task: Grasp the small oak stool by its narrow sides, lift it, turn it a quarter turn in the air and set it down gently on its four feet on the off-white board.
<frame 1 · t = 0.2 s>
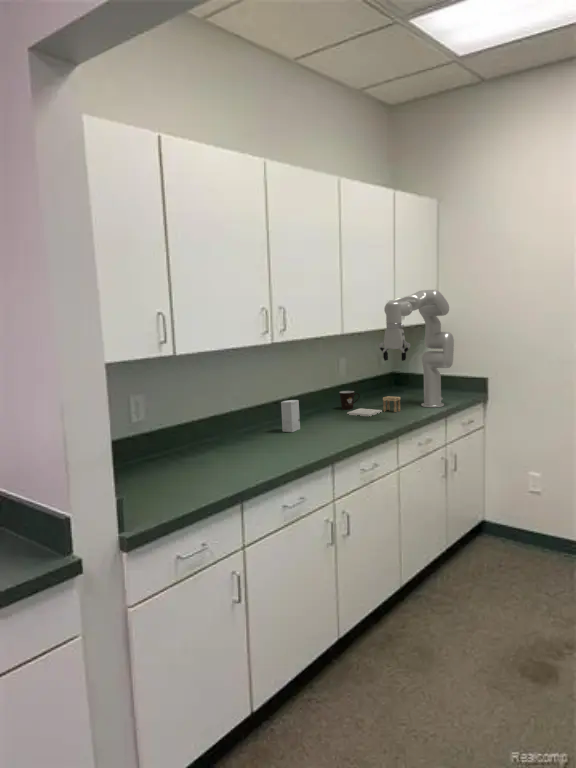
hand: (394, 360, 300), 31 cm above the worktop, tool pointing down, fingers open, 9 cm apart
coffee mug: (350, 409, 341), on the worktop
skincare box: (291, 430, 289), on the worktop
white board: (364, 413, 325), on the worktop
oak stool: (391, 411, 327), on the worktop
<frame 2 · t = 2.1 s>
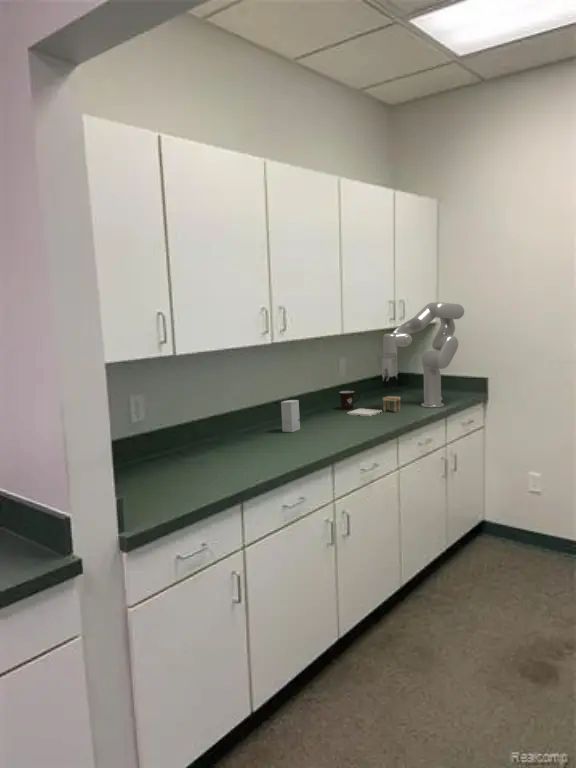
hand: (390, 387, 325), 14 cm above the worktop, tool pointing down, fingers open, 9 cm apart
nothing on the worktop moved.
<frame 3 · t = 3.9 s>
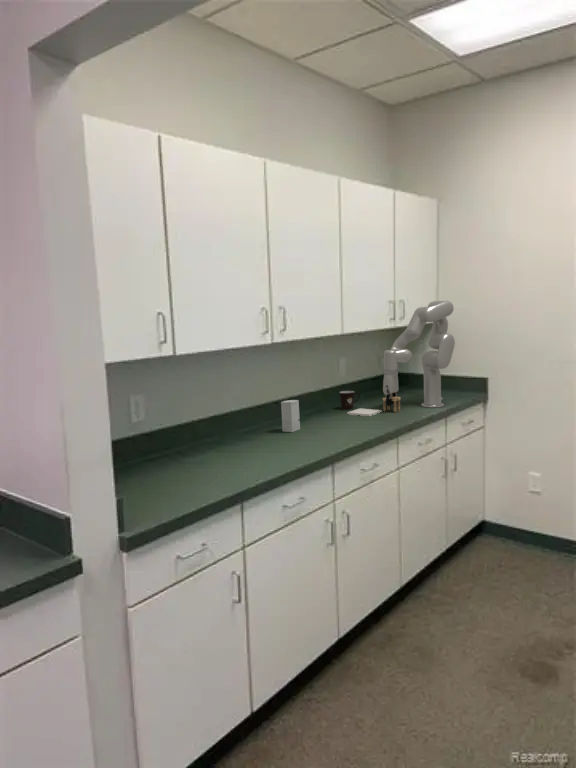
hand: (391, 404, 326), 4 cm above the worktop, tool pointing down, fingers closed on oak stool, 5 cm apart
oak stool: (391, 411, 327), on the worktop, touching gripper
everything else where it was.
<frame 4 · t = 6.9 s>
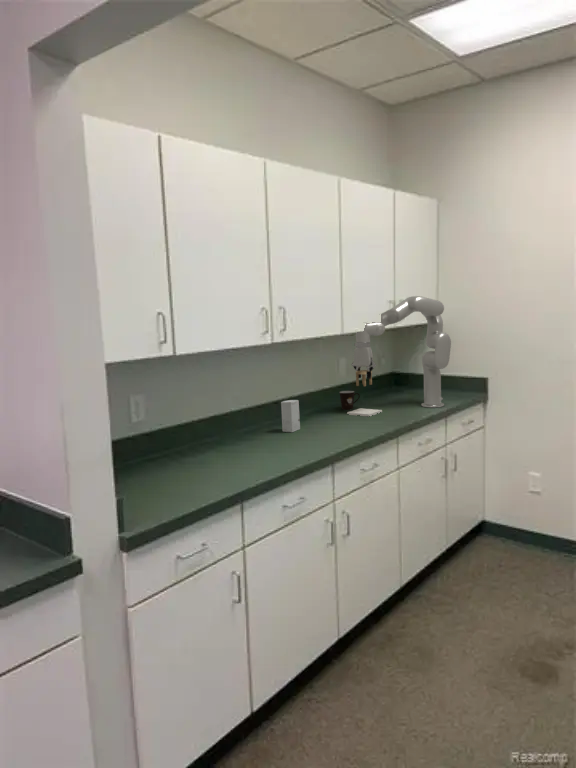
hand: (363, 378, 322), 20 cm above the worktop, tool pointing down, fingers closed on oak stool, 5 cm apart
oak stool: (364, 385, 323), point 16 cm above the worktop, touching gripper
everything else where it was.
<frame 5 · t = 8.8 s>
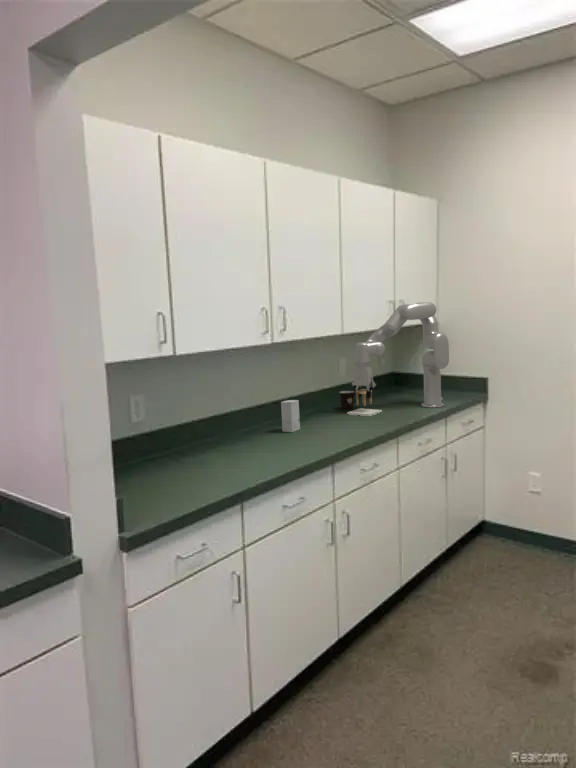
hand: (363, 397, 324), 9 cm above the worktop, tool pointing down, fingers closed on oak stool, 5 cm apart
oak stool: (364, 404, 324), point 5 cm above the worktop, touching gripper
everything else where it was.
when the fingers open (7 cm above the worktop, at t = 10.2 s): oak stool drops 1 cm, resting on white board.
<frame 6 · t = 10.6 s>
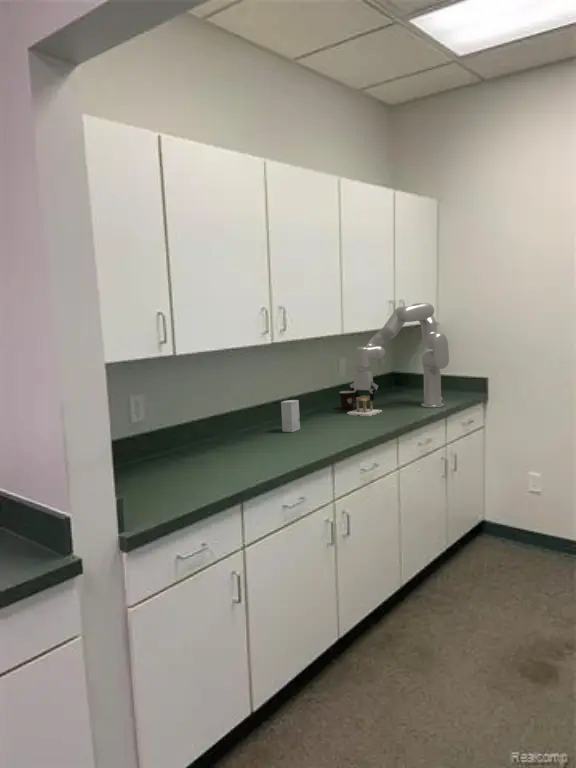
hand: (364, 400, 324), 7 cm above the worktop, tool pointing down, fingers open, 9 cm apart
oak stool: (364, 411, 325), point 1 cm above the worktop, touching white board
everything else where it was.
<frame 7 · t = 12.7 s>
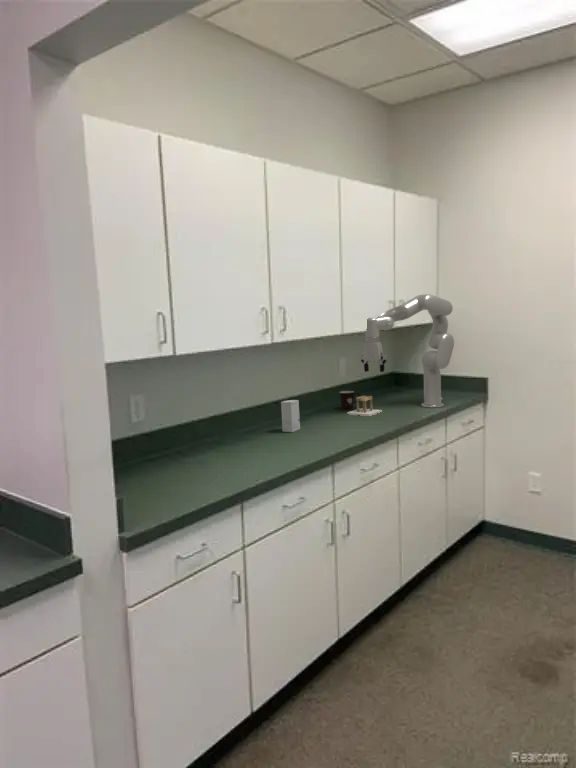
hand: (374, 371, 322), 23 cm above the worktop, tool pointing down, fingers open, 9 cm apart
nothing on the worktop moved.
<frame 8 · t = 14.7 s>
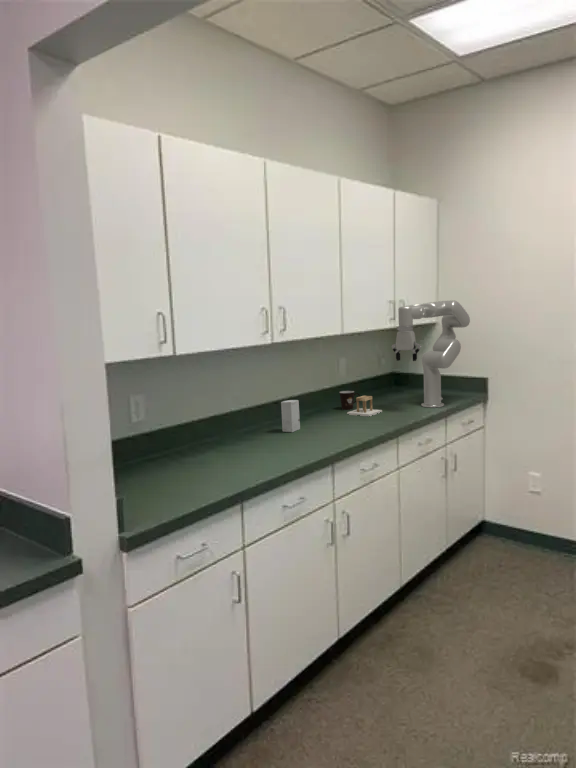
hand: (406, 360, 321), 28 cm above the worktop, tool pointing down, fingers open, 9 cm apart
nothing on the worktop moved.
at the end: oak stool inside the target area on the white board (0.1 cm from its centre), point 1.2 cm above the white board's base; oak stool tilted 0°; the gripper is holding nothing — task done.
